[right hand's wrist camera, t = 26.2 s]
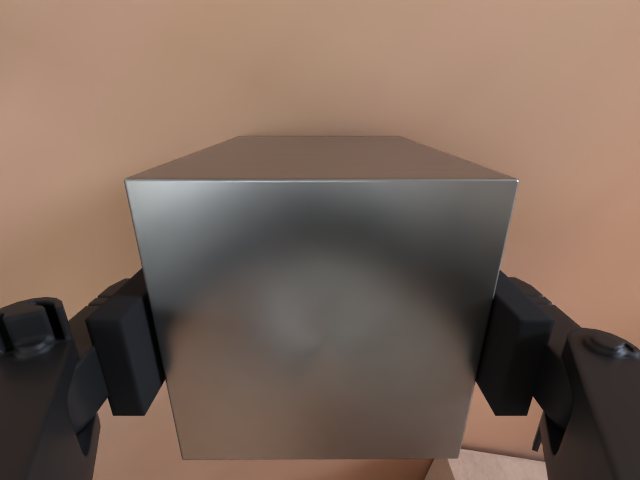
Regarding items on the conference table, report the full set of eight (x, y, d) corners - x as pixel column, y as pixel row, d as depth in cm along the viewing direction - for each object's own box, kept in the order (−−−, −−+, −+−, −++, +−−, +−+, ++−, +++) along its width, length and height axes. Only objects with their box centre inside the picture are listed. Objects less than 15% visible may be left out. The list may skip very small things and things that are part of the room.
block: (400, 136, 17) (521, 179, 7) (388, 283, 20) (459, 459, 10) (237, 136, 17) (122, 178, 7) (250, 282, 20) (181, 461, 10)
